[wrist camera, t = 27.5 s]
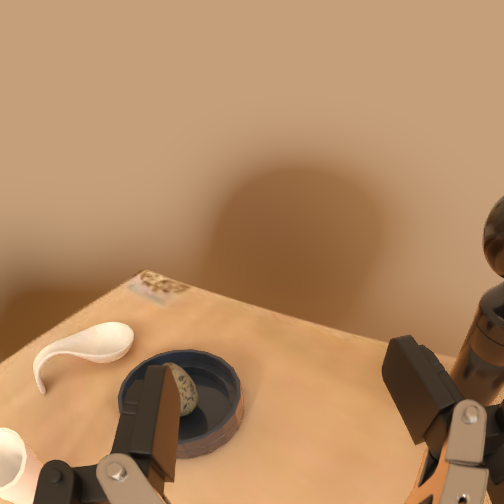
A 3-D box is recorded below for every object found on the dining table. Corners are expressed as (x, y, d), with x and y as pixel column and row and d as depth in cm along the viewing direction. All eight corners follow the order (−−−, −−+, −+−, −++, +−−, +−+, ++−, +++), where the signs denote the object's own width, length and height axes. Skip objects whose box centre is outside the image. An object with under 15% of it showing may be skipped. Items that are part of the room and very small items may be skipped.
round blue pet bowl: (240, 366, 49) (238, 346, 47) (247, 458, 32) (244, 442, 30) (140, 370, 48) (132, 350, 46) (120, 455, 31) (106, 438, 29)
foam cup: (94, 503, 23) (39, 461, 18) (59, 540, 16) (-7, 505, 10) (54, 466, 27) (4, 416, 22) (22, 498, 19) (-36, 452, 14)
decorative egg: (160, 401, 41) (141, 358, 37) (194, 390, 43) (181, 345, 39) (170, 429, 36) (150, 387, 32) (208, 416, 38) (194, 373, 34)
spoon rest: (122, 327, 60) (113, 300, 57) (149, 352, 52) (138, 323, 49) (35, 373, 44) (19, 347, 41) (49, 409, 37) (29, 382, 34)
